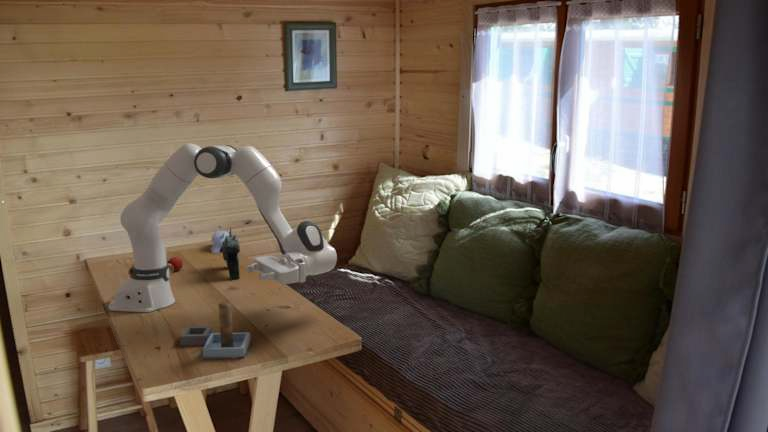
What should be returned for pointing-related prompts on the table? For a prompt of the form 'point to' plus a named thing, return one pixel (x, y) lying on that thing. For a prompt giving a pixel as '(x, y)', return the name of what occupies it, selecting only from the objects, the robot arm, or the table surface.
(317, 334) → the table surface
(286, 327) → the table surface
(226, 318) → the dowel
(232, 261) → the ceramic cat
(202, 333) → the socket block
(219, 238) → the hippopotamus toy
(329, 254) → the robot arm
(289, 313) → the table surface
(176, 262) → the kendama
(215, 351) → the tray
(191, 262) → the table surface
